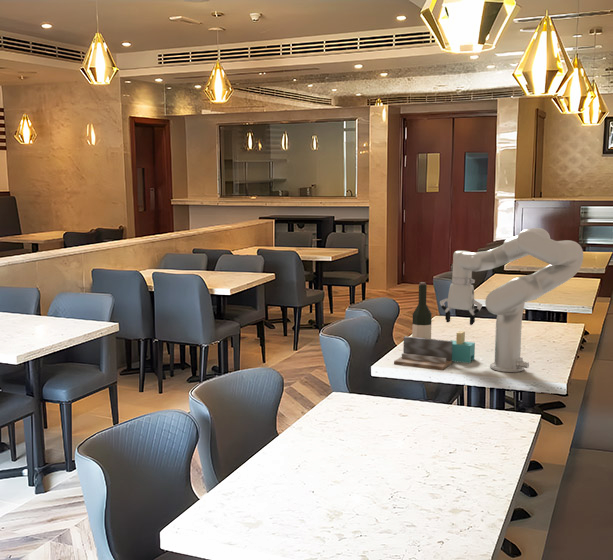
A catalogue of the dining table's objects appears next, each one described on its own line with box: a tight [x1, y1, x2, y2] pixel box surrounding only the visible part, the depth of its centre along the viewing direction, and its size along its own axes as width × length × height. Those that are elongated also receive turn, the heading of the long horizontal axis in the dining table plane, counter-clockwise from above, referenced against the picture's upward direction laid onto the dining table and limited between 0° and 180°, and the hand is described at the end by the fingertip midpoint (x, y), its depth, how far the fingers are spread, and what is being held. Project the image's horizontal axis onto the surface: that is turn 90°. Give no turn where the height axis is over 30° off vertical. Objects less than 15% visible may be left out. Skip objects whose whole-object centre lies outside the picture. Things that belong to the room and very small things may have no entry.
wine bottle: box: [411, 281, 433, 339], centre depth 299 cm, size 8×8×30 cm
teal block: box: [450, 330, 476, 364], centre depth 287 cm, size 10×7×12 cm
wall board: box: [393, 336, 454, 371], centre depth 281 cm, size 20×12×9 cm, turn 62°
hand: (459, 323), depth 286 cm, fingers open, 9 cm apart
